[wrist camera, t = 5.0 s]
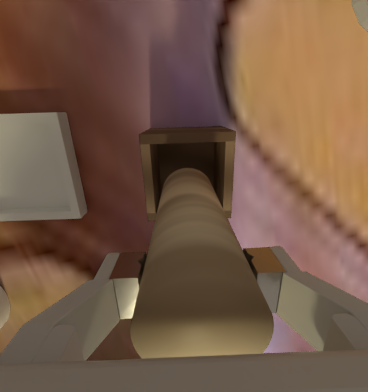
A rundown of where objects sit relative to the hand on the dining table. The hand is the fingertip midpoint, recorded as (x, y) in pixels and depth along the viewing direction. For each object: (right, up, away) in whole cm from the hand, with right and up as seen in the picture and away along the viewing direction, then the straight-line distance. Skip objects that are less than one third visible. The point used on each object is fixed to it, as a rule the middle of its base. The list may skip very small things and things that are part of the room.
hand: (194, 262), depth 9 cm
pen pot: (0, +7, +17) cm, 18 cm away
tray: (-22, +6, +17) cm, 28 cm away
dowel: (0, +3, +8) cm, 9 cm away
